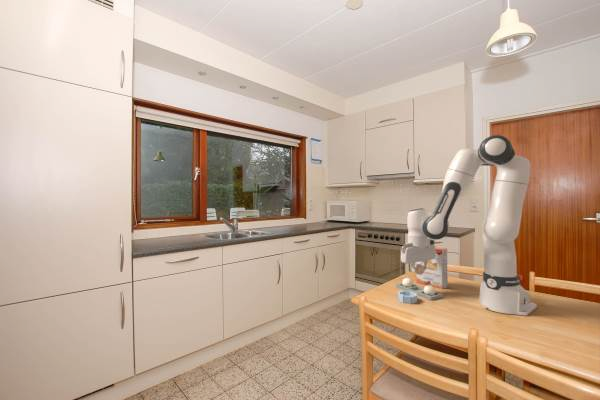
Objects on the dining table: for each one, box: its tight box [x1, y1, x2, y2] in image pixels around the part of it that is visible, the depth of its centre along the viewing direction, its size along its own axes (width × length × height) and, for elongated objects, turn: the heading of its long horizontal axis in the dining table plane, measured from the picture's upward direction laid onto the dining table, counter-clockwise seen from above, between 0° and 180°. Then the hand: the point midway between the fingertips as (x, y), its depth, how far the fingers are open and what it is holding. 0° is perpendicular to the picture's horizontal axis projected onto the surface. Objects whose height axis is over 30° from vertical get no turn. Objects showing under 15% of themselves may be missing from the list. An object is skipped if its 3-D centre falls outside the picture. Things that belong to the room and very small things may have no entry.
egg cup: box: [397, 289, 418, 305], centre depth 122 cm, size 8×8×4 cm
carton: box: [395, 282, 444, 301], centre depth 132 cm, size 8×21×2 cm, turn 25°
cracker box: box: [415, 246, 448, 290], centre depth 142 cm, size 14×6×21 cm, turn 36°
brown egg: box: [414, 263, 425, 275], centre depth 132 cm, size 5×5×5 cm
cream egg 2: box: [423, 285, 436, 296], centre depth 126 cm, size 5×5×5 cm
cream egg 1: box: [401, 277, 414, 288], centre depth 138 cm, size 5×5×5 cm
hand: (419, 270), depth 132 cm, fingers closed on brown egg, 5 cm apart
